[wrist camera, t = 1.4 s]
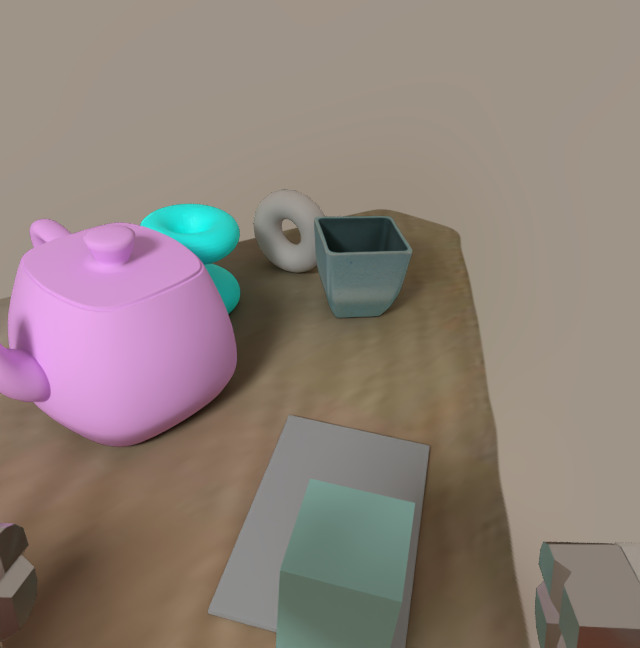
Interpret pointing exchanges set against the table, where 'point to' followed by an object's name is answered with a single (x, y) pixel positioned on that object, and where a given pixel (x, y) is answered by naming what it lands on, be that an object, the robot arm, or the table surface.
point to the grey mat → (286, 499)
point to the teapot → (115, 332)
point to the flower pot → (360, 263)
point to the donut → (271, 233)
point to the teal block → (344, 569)
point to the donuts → (202, 240)
